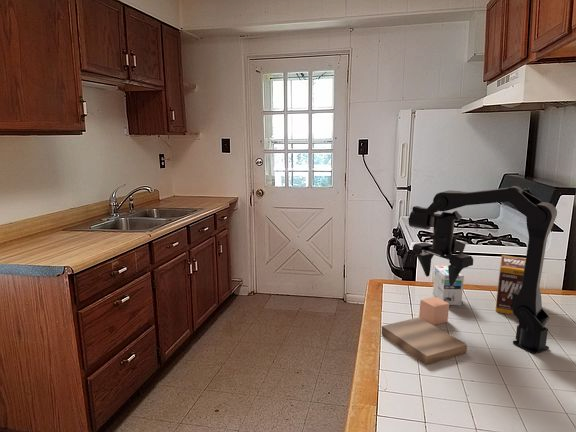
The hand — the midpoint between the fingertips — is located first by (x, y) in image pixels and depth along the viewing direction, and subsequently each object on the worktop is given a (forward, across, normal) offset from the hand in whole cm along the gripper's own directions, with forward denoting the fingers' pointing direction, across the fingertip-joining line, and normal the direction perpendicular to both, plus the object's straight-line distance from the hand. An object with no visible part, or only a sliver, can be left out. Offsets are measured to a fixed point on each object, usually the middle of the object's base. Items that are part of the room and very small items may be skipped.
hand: (439, 280), depth 129 cm
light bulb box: (+12, +8, -15) cm, 21 cm away
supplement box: (+13, -7, -30) cm, 33 cm away
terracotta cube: (+12, 0, +2) cm, 12 cm away
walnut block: (+13, -9, +17) cm, 23 cm away
